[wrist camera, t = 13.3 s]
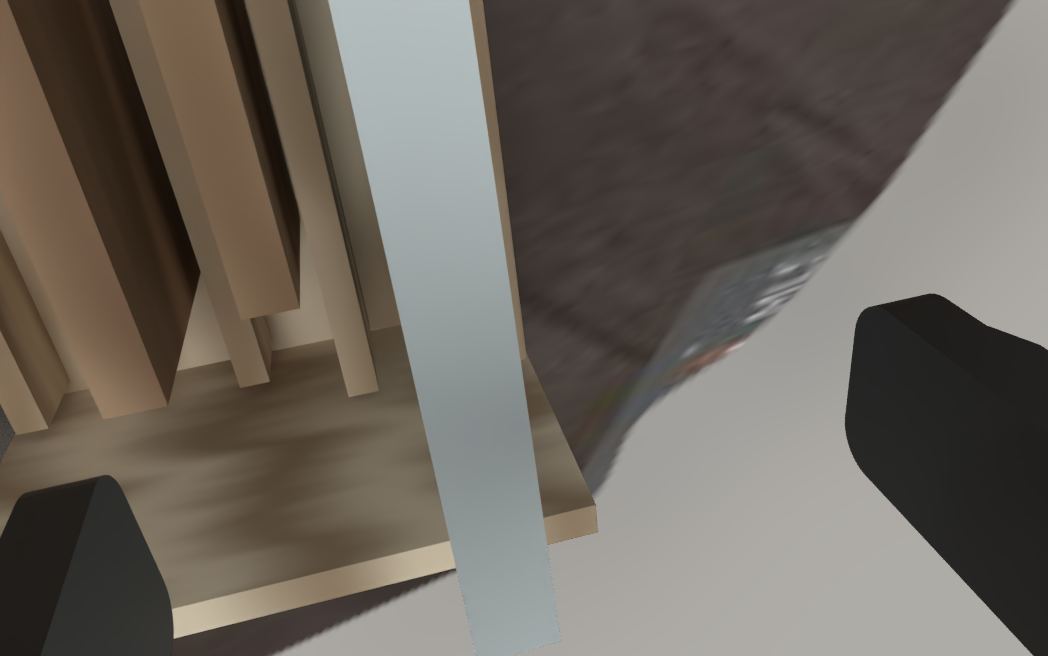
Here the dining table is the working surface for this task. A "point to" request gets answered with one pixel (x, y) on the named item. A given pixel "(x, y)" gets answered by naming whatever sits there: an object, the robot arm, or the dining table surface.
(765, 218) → the dining table surface
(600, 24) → the dining table surface
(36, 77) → the offcut
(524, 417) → the blue-grey flat rectangular block
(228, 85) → the offcut
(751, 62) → the dining table surface
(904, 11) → the dining table surface
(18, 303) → the rack
